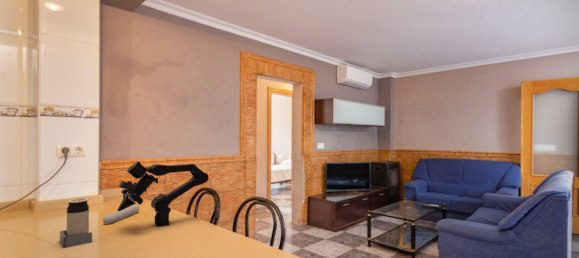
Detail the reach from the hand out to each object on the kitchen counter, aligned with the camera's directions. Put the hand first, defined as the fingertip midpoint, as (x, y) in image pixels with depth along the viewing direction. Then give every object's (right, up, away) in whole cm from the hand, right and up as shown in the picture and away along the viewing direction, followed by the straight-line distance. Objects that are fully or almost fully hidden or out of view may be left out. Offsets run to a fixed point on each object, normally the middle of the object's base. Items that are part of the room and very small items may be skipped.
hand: (118, 210), depth 145 cm
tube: (-13, -12, +26) cm, 31 cm away
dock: (-12, -10, -11) cm, 20 cm away
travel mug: (-12, -11, -11) cm, 19 cm away
